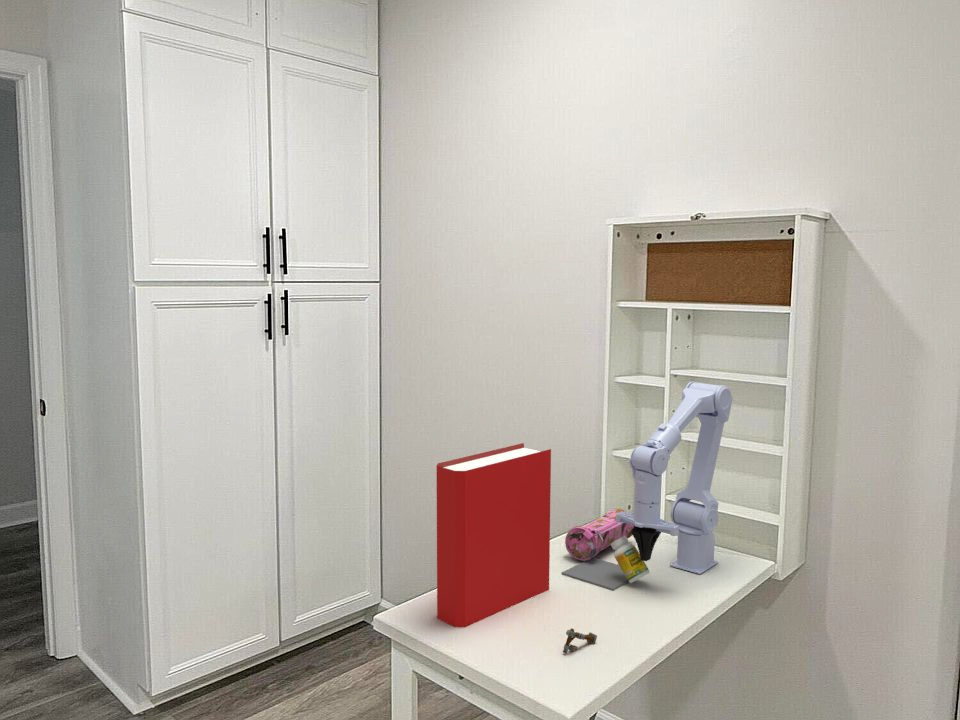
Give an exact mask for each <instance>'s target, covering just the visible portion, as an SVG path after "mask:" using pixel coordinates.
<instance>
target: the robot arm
mask: <svg viewBox="0 0 960 720" xmlns="http://www.w3.org/2000/svg"><path fill="white" fill-rule="evenodd" d="M681 396H682V397H681V399H682V400H681V402H680V404H679V406H678V407H677V408H676V409H675V412H674V413H673V414H672V416H671V418H670V419H669V421H668V422H663V423H661V424H659V426H658V427H657V428H656V429H655V431H653V433H652V434H651V435H650V436H649V438H647V440H646V441H645V442H644V444H643V445H638V446H637V447H635V448H634V449H633V450H632V452H631V454H630V458H629V460H628V461H629V466H630V468H631V470H632V472H631V473H632V475H631V476H632V477H633V479H634V497H633V498H634V499H633V501H634V502H633V503H634V504H633V513H630V512H627V513H624V512H619V513H617V514H616V522H619V523H621V522H623V523H627V524H631V525H634V528H633V529H632V530H631V533H632V536H633V539H634V540H635V543H636V546H637V550H638V552H639V554H640V558H641V560H643V561H644V562H648V561H649V560H651V558H652V554H653V551H654V547H655V545H656V543H657V541H658V538H659V537H660V536H661V534H662V533H665V534H666V535H667V534H668V535H669V536H672V537H675V536H677V548H676V549H677V551H676V560H674V561H672V562H670V563H669V566H670V567H672V568H673V567H674V568H677V569H680V570H684V571H687V572H690V573H694V574H697V575H698V574H699V575H701V574H703V573H704V572H707V571H708V570H709V569H711V568H712V567H714V566H715V565H717V564H718V560H715V544H716V543H715V541H716V539H715V534H714V532H713V531H714V530H715V529H716V527H717V525H718V521H719V514H718V513H719V512H718V511H719V510H718V509H719V502H718V500H717V499H716V498H715V497H714V496H713V494H712V493H711V488H712V484H713V483H712V482H713V478H714V474H715V469H716V464H717V459H718V455H719V451H720V445H721V440H722V436H723V432H724V427H725V423H727V422H728V421H729V418H730V413H731V410H732V406H733V405H732V404H733V399H734V397H733V395H732V392H731V390H730V388H729V387H728V386H727V385H718V384H711V383H705V382H697V381H689V382H688V383H686V386H685V387H684V388H683V390H682V393H681ZM695 417H696V418H697V419H698V420H699V422H700V428H699V432H698V437H697V441H696V446H695V451H694V457H693V460H692V465H691V470H690V475H689V480H688V484H687V487H686V488H684V489H682V490H680V491H678V492H677V493H676V497H675V500H674V502H673V504H672V506H671V509H670V519H671V521H672V523H671V522H669V521H667V520H665V519H661V502H662V501H661V498H662V497H661V496H662V475H663V473H665V472H666V470H667V467H668V464H669V461H670V458H671V456H670V455H671V454H672V452H673V451H674V450H675V449H676V447H677V446H678V445H679V444H680V442H681V441H682V433H681V432H683V430H685V428H686V427H687V426H689V424H690V423H691V422H692V421H693V420H694V419H695ZM695 501H696V502H695ZM698 502H700V503H698ZM701 503H702V504H701Z"/></svg>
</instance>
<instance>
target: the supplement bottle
mask: <svg viewBox="0 0 960 720" xmlns="http://www.w3.org/2000/svg"><path fill="white" fill-rule="evenodd" d="M610 546H611V548H612V550H614V554H613V557H614V559H615V561H616V562H617V564H618V565H619V566H620V567H621V569H622V571H623V573H624V574H625V576H626V578H627V579H628V581H629V582H628V583H629V584H633V583H634V582H636V581H637V580H639V579H641V578H643V577H645V576H646V575H649V574H650V570H649V568H648V566H647V564H646V561H643V560H641V558H640V553H639V549H638V547H636V545H634V544H633V543H629V538H628V539H627V537H626V536H623V537H621V538H619V539H618V540H616V541H614V542H613V543H611V545H610Z"/></svg>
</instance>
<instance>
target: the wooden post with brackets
mask: <svg viewBox="0 0 960 720" xmlns="http://www.w3.org/2000/svg"><path fill="white" fill-rule="evenodd" d="M565 634H566V635H567V638H566V642H565V644H564V646H563V650H562V652H563V653H564V654H568V651H571V652H577V651H578V646H577V645H573V644H571V642H573V641H574V640H575V638H576V639H578V640H583V641H584V640H585V641H586V642H588V643H590V644H592V645H595V644H596V642H597V638H598V635H597V634H595V633H593V632H591V631H590V632H588V634H583V633H582V632H581V633H580V632H577V631H576V632H575V629H574V628H570V629H567V630H566V631H565Z"/></svg>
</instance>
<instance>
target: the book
mask: <svg viewBox="0 0 960 720" xmlns="http://www.w3.org/2000/svg"><path fill="white" fill-rule="evenodd" d="M551 462H552V449H551V448H549V449H545V450H543V451H540V450H536V449H532V448H527V447H525V443H523V442H522V443H518V444H514V445H509V446H505V447H502V448H497V449H493V450H489V451H485V452H480V453H475V454H473V455H469V456H463V457H459V458H456V459H451V460H448V461H442V462H438V463H437V464H436V619H437V620H439V621H441V622H444V623H446V624H448V625H450V626H452V627H454V628H467V627H469V626H472V625H474V624H476V623H478V622H480V621H482V620H485V619H487V618H489V617H491V616H493V615H496V614H498V613H500V612H503V611H505V610H507V609H509V608H511V606H512V607H514V606H516V605H517V604H520V603H523V602H525V601H527V600H529V599H531V597H532V598H534V597H536V596H538V595H540V594H543V593H544V592H547V591H549V590H550V556H551V555H550V551H551V549H550V547H551V542H550V541H551V482H552V481H551V478H552V477H551V476H552V475H551V471H552V463H551Z"/></svg>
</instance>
